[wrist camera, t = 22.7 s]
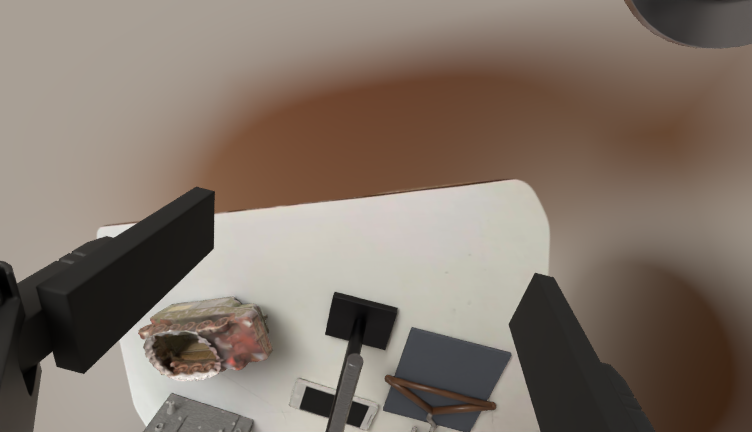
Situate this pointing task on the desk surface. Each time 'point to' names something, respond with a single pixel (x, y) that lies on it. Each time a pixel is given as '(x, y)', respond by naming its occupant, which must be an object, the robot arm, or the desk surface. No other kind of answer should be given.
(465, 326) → the desk surface
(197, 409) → the electronic device
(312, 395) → the smartphone
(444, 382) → the felt mat
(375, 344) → the rail stand
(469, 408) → the hanger
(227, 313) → the decorative box
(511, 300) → the desk surface
